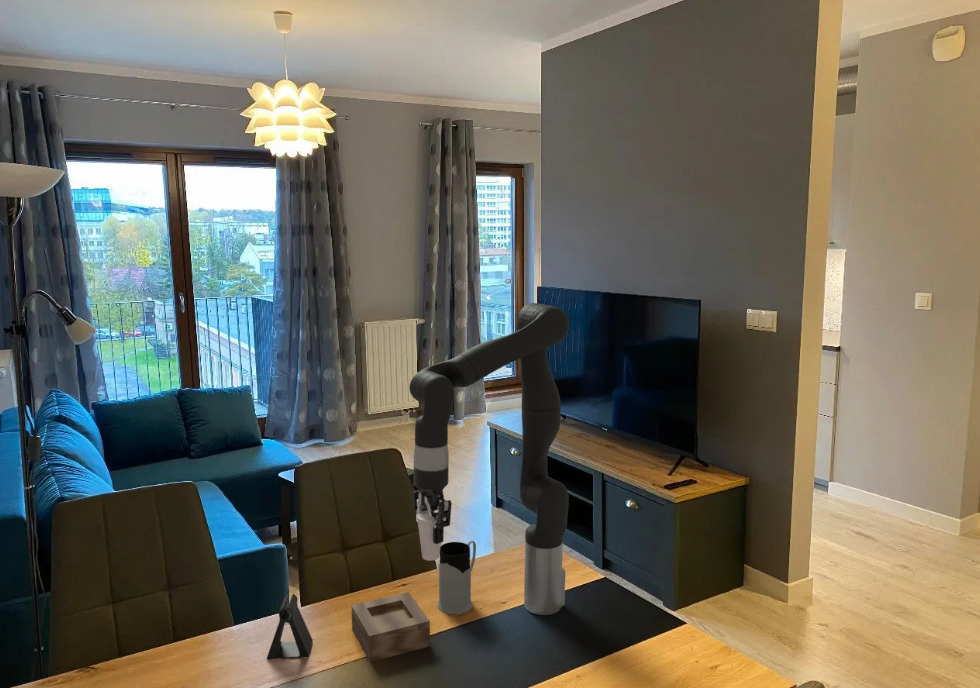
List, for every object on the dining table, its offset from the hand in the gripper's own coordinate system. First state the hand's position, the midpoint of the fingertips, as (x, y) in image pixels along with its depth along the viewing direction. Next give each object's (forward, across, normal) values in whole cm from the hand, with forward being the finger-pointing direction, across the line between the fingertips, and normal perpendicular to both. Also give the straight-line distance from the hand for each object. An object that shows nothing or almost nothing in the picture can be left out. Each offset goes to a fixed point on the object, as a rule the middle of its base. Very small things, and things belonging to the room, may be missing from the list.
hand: (430, 536), depth 160 cm
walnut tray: (+27, +8, +6) cm, 28 cm away
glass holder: (+26, +13, -16) cm, 33 cm away
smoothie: (+5, 0, 0) cm, 5 cm away
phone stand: (+27, +15, +27) cm, 41 cm away
